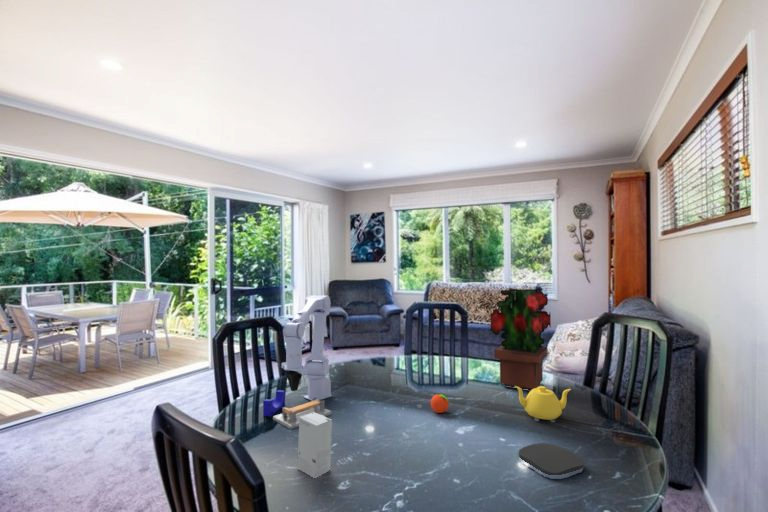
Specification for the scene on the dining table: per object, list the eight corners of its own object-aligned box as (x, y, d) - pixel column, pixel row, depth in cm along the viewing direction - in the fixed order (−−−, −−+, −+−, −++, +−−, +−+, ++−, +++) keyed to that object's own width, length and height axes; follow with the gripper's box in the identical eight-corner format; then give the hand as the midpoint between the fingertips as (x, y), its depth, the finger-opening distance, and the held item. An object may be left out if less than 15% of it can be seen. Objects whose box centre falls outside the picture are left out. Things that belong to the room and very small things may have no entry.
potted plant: (551, 383, 184) (550, 289, 185) (542, 397, 166) (541, 292, 166) (504, 376, 196) (503, 287, 197) (491, 388, 177) (490, 290, 178)
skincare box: (296, 469, 110) (296, 417, 110) (313, 461, 114) (313, 410, 114) (316, 480, 104) (315, 425, 104) (332, 470, 109) (332, 417, 109)
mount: (312, 406, 157) (312, 394, 157) (331, 414, 149) (331, 402, 149) (272, 419, 144) (272, 407, 144) (290, 429, 136) (290, 416, 136)
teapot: (565, 410, 151) (565, 381, 151) (576, 427, 136) (576, 394, 136) (511, 407, 155) (511, 378, 155) (517, 422, 140) (516, 391, 140)
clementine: (454, 412, 149) (454, 394, 149) (444, 418, 144) (444, 399, 144) (437, 407, 155) (437, 389, 155) (427, 412, 150) (427, 394, 150)
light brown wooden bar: (317, 402, 154) (317, 397, 154) (322, 404, 151) (322, 400, 151) (284, 413, 143) (284, 408, 143) (289, 415, 140) (289, 411, 140)
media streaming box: (551, 484, 102) (551, 472, 102) (512, 458, 116) (512, 448, 116) (590, 471, 108) (590, 461, 108) (549, 448, 122) (549, 439, 122)
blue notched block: (274, 404, 160) (274, 389, 160) (284, 405, 159) (284, 390, 159) (259, 416, 148) (259, 400, 148) (270, 416, 147) (270, 401, 147)
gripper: (274, 353, 148) (274, 388, 148) (295, 359, 138) (296, 397, 138) (290, 349, 153) (290, 384, 153) (312, 356, 143) (312, 392, 143)
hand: (294, 390), depth 146 cm, fingers closed
